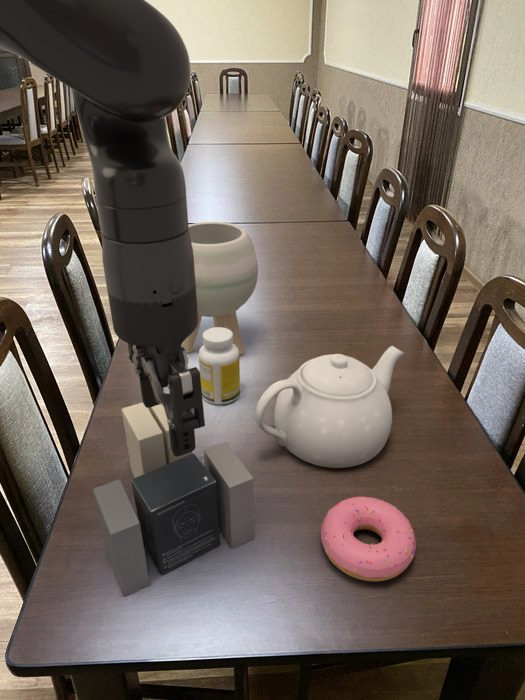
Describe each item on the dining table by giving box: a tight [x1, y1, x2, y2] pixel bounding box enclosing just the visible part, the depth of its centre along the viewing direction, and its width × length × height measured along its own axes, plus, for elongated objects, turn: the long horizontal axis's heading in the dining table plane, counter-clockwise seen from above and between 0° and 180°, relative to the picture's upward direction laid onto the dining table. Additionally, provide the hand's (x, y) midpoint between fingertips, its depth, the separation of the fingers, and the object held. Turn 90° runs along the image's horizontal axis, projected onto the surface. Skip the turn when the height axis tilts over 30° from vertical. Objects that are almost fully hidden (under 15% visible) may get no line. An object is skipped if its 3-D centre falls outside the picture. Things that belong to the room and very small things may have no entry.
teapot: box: [254, 345, 405, 469], centre depth 78 cm, size 19×18×14 cm
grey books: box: [92, 441, 255, 597], centre depth 61 cm, size 16×7×10 cm, turn 119°
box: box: [131, 452, 221, 576], centre depth 61 cm, size 8×6×11 cm
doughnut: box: [320, 494, 417, 583], centre depth 62 cm, size 11×11×4 cm
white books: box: [121, 401, 193, 479], centre depth 70 cm, size 6×7×11 cm
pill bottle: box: [198, 327, 241, 405], centre depth 87 cm, size 6×6×12 cm
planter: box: [181, 221, 259, 356], centre depth 97 cm, size 16×16×22 cm
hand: (168, 426), depth 55 cm, fingers open, 8 cm apart
